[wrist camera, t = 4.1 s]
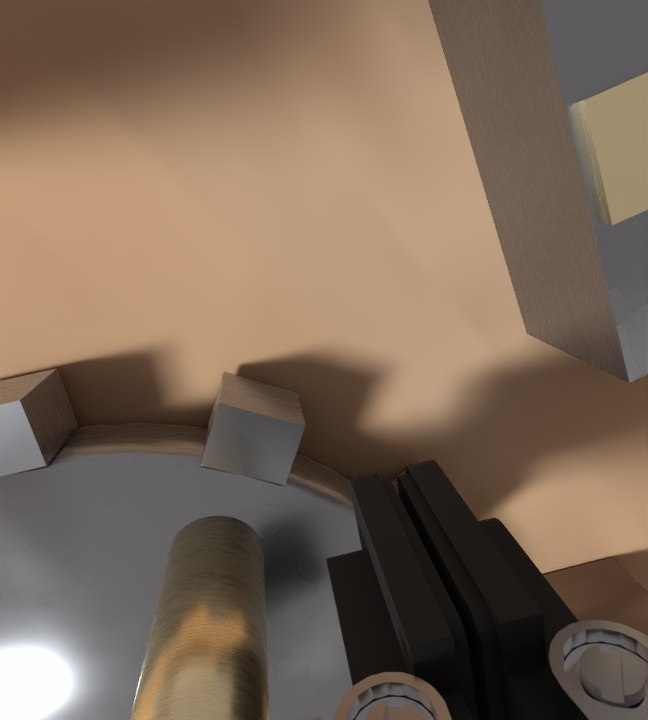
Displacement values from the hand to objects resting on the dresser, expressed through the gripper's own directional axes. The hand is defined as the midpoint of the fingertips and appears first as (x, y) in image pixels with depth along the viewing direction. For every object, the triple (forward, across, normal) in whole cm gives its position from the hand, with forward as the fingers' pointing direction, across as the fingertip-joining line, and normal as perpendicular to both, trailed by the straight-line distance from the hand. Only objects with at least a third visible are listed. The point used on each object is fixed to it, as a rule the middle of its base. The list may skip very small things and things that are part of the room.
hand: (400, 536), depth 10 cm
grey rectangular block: (+4, -6, -6) cm, 10 cm away
